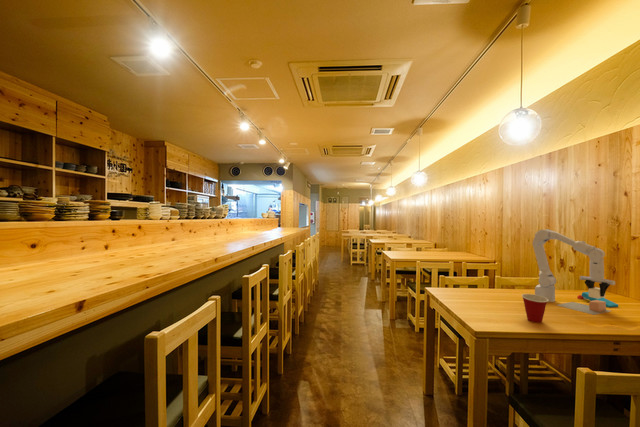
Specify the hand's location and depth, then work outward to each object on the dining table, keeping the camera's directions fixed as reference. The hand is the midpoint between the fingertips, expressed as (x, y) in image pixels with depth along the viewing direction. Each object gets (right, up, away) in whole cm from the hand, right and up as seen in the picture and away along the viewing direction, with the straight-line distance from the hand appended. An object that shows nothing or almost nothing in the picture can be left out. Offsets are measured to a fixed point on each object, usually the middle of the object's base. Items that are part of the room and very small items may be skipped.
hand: (596, 295), depth 158 cm
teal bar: (+12, -10, +14) cm, 21 cm away
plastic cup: (-45, -9, -15) cm, 49 cm away
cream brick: (0, -1, 0) cm, 1 cm away
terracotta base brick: (0, -8, 0) cm, 8 cm away
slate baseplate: (-5, -9, +3) cm, 11 cm away
